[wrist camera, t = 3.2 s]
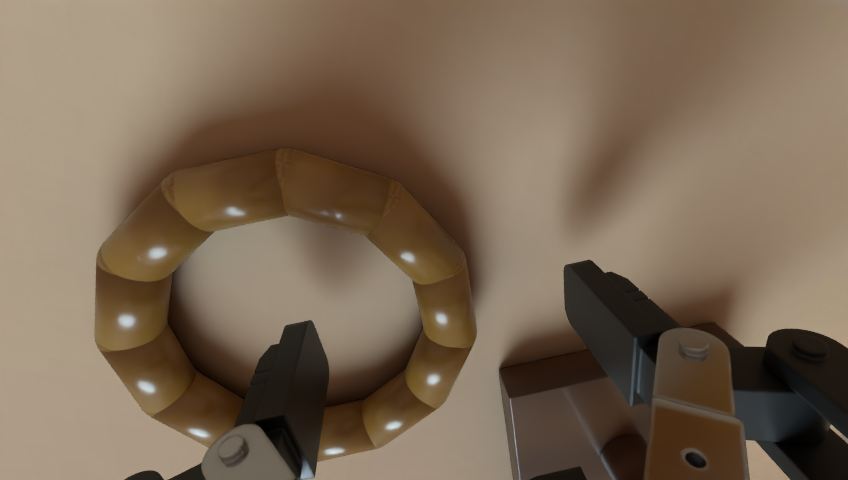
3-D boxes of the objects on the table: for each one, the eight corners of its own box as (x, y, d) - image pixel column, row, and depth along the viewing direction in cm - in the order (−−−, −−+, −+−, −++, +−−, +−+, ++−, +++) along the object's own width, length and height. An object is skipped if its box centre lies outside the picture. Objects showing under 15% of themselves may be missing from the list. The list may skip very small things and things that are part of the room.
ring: (37, 194, 11) (-20, 218, 10) (438, 110, 11) (448, 120, 10) (210, 456, 16) (191, 501, 15) (484, 395, 16) (496, 433, 15)
